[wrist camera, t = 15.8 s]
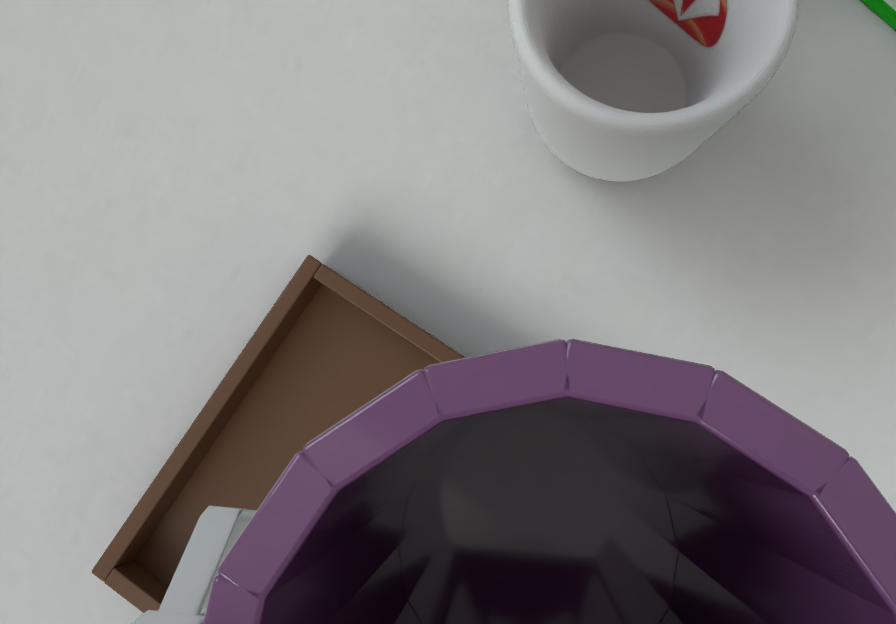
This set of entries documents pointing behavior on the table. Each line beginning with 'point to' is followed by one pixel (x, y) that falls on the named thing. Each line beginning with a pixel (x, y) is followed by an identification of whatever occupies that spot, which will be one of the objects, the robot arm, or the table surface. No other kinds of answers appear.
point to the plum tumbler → (565, 505)
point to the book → (884, 10)
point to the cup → (642, 75)
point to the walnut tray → (267, 417)
